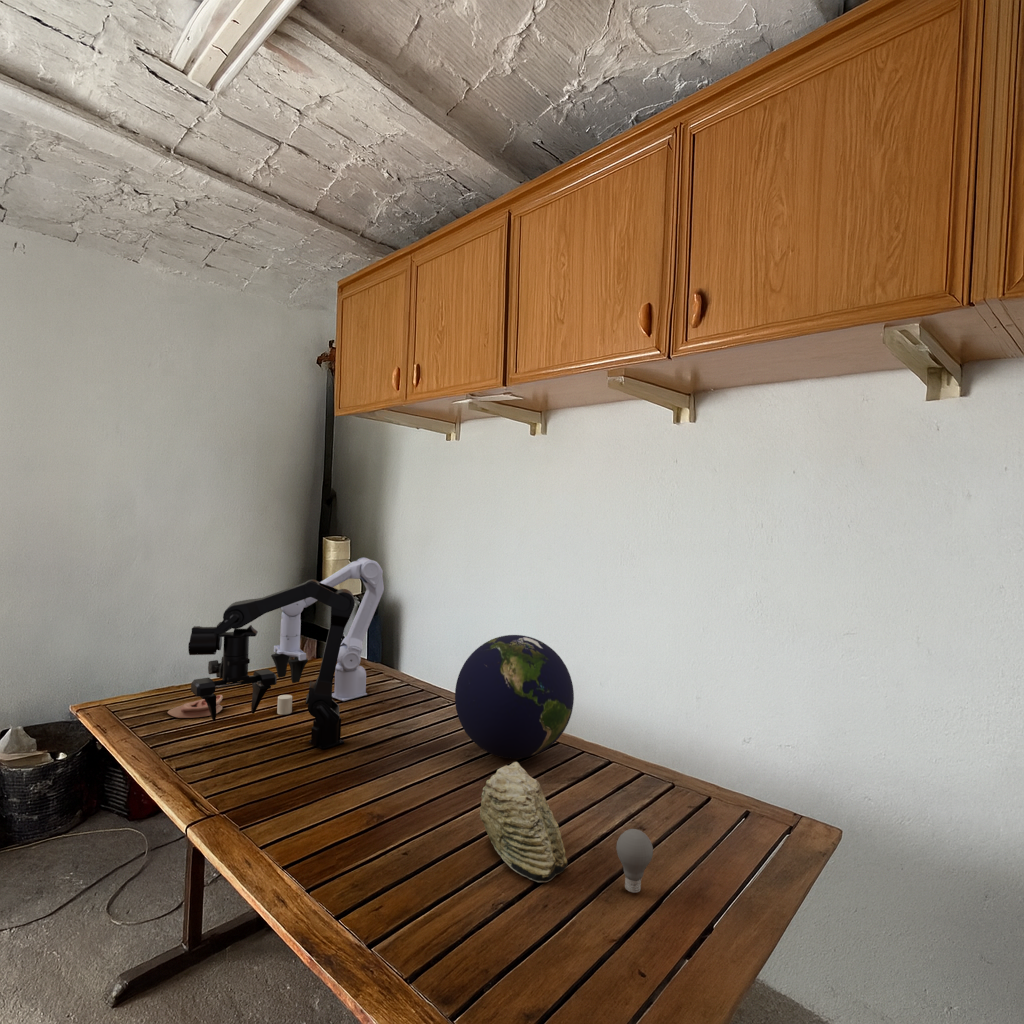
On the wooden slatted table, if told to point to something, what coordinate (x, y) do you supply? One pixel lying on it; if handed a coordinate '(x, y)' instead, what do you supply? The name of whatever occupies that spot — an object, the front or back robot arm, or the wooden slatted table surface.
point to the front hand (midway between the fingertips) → (233, 716)
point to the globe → (514, 696)
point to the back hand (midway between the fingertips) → (288, 679)
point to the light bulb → (634, 857)
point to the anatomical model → (195, 709)
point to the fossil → (522, 824)
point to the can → (284, 704)
